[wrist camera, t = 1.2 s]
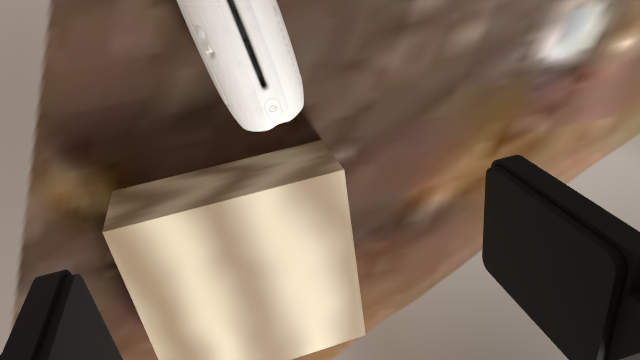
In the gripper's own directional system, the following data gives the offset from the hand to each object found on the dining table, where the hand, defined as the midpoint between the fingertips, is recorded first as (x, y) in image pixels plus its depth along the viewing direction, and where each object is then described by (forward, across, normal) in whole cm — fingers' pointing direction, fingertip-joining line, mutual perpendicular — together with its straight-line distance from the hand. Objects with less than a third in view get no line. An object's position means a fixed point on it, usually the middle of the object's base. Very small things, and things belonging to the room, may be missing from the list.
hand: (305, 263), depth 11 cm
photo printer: (+25, 0, -3) cm, 25 cm away
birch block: (+25, +2, +16) cm, 30 cm away
